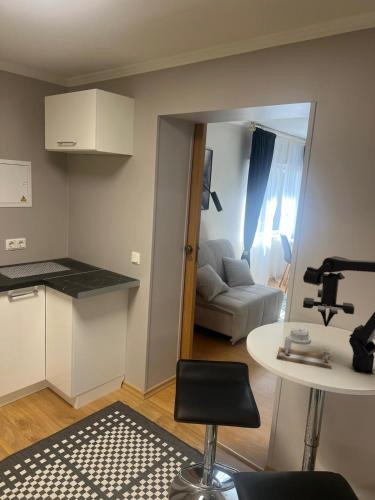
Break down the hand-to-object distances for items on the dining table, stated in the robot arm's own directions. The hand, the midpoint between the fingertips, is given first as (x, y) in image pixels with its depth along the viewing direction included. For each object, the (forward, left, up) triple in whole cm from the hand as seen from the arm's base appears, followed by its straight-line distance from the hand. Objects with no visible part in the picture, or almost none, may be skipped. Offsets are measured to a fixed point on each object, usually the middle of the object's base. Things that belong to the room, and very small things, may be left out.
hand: (325, 326), depth 148 cm
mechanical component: (+10, -12, -12) cm, 20 cm away
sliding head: (+14, +8, -10) cm, 19 cm away
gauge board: (+7, +8, -12) cm, 16 cm away
